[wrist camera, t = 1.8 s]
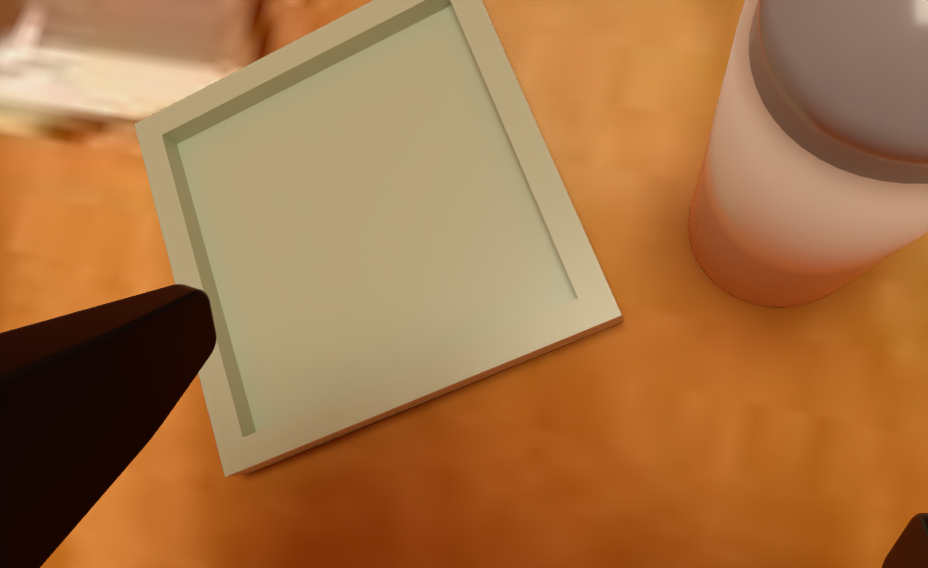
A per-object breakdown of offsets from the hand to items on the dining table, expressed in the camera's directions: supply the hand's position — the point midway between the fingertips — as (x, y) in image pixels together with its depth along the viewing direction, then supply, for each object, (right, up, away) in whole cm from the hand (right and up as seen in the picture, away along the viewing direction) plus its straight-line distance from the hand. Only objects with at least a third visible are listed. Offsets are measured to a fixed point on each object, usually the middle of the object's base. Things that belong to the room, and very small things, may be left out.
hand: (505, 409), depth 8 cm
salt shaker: (+9, +3, +13) cm, 16 cm away
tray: (-4, +4, +16) cm, 17 cm away
